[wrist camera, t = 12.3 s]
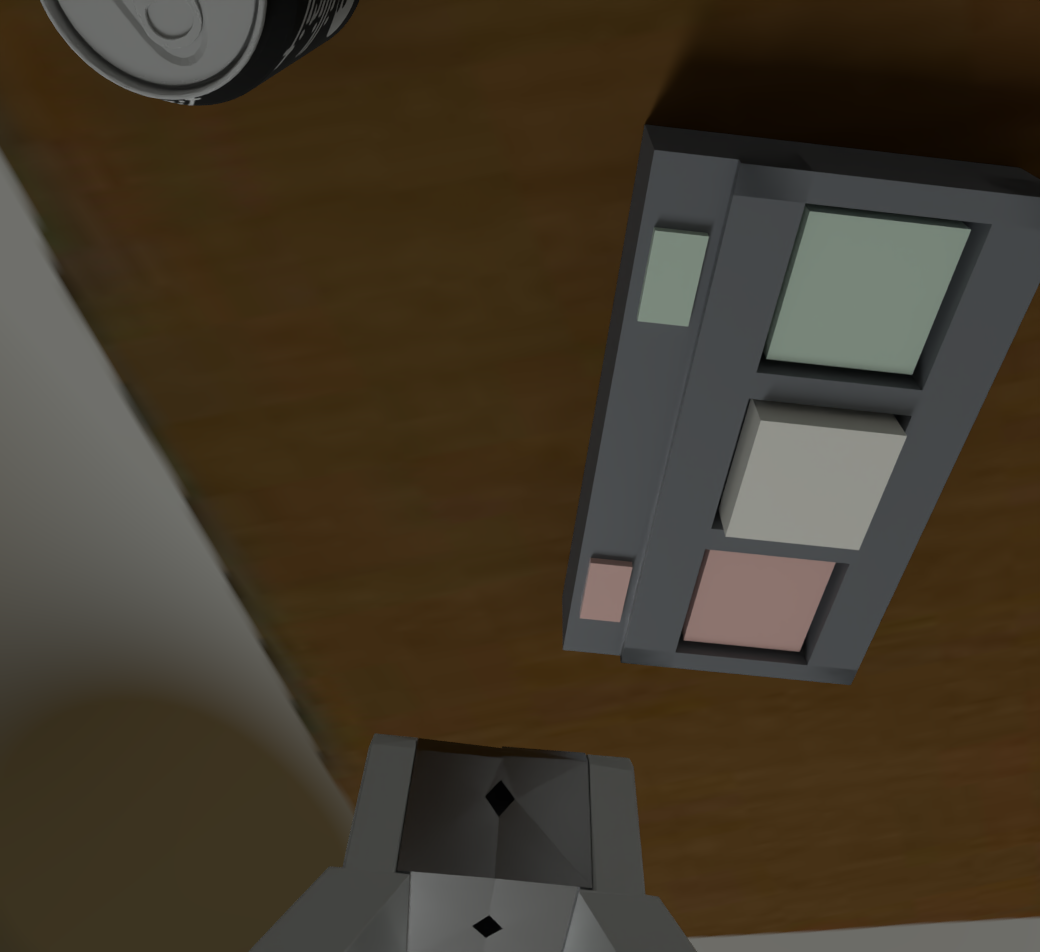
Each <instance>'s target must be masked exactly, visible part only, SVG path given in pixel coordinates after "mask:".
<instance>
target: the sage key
mask: <svg viewBox="0 0 1040 952" xmlns="http://www.w3.org/2000/svg"><path fill="white" fill-rule="evenodd" d="M970 232H971V229H970V228H969V227H968V226H966V225H965V224H964V223H963V222H961V221H958V220H949V219H940V218H931V217H923V216H914V215H905V214H896V213H887V212H879V211H870V210H861V209H852V208H843V207H834V206H826V205H817V204H808V203H805V207H804V210H803V214H802V217H801V221H800V224H799V227H798V231H797V234H796V238H795V241H794V245H793V248H792V252H791V255H790V258H789V262H788V265H787V269H786V272H785V276H784V279H783V283H782V286H781V290H780V293H779V296H778V300H777V303H776V307H775V310H774V314H773V317H772V321H771V324H770V327H769V331H768V334H767V338H766V341H765V345H764V348H763V353H764V355H765V357H766V359H771V360H780V361H789V362H798V363H808V364H817V365H826V366H835V367H845V368H854V369H863V370H872V371H882V372H891V373H900V374H909V375H912V374H913V372H914V369H915V367H916V364H917V362H918V359H919V357H920V354H921V352H922V349H923V347H924V345H925V342H926V340H927V337H928V335H929V332H930V330H931V327H932V325H933V322H934V320H935V318H936V315H937V313H938V310H939V308H940V305H941V303H942V300H943V298H944V295H945V293H946V290H947V288H948V286H949V283H950V281H951V278H952V276H953V273H954V271H955V268H956V266H957V263H958V261H959V259H960V256H961V254H962V251H963V249H964V246H965V244H966V241H967V239H968V236H969V234H970Z"/></svg>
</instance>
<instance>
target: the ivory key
mask: <svg viewBox="0 0 1040 952" xmlns="http://www.w3.org/2000/svg"><path fill="white" fill-rule="evenodd" d="M906 438H907V435H906V433H905V432H904V430H903V429H902V427H901V426H900V424H899V423H898V421H897V419H896V418H895V416H894V415H893V414H888V413H879V412H870V411H860V410H851V409H842V408H832V407H823V406H813V405H804V404H795V403H785V402H776V401H767V400H757V399H750V403H749V406H748V410H747V413H746V417H745V420H744V423H743V427H742V430H741V434H740V437H739V441H738V444H737V447H736V451H735V454H734V458H733V461H732V465H731V468H730V472H729V475H728V478H727V482H726V485H725V489H724V492H723V496H722V499H721V502H720V506H719V509H718V510H719V514H720V518H721V521H722V525H723V529H724V533H725V537H735V538H744V539H754V540H764V541H774V542H784V543H793V544H803V545H813V546H823V547H833V548H842V549H852V550H859V549H860V546H861V544H862V542H863V539H864V537H865V535H866V532H867V530H868V527H869V525H870V523H871V520H872V518H873V516H874V513H875V511H876V509H877V506H878V504H879V501H880V499H881V497H882V494H883V492H884V490H885V487H886V485H887V483H888V480H889V478H890V475H891V473H892V471H893V468H894V466H895V464H896V461H897V459H898V456H899V454H900V452H901V449H902V447H903V445H904V442H905V440H906Z"/></svg>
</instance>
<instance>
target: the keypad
mask: <svg viewBox="0 0 1040 952" xmlns="http://www.w3.org/2000/svg"><path fill="white" fill-rule="evenodd" d="M805 203H808V204H817V205H826V206H834V207H843V208H852V209H861V210H870V211H879V212H887V213H896V214H905V215H914V216H923V217H931V218H940V219H949V220H958V221H961V222H963V223H964V224H965V225H966V226H968V227H969V228H970V229H971V232H970V234H969V236H968V239H967V241H966V244H965V246H964V249H963V251H962V254H961V256H960V259H959V261H958V263H957V266H956V268H955V271H954V273H953V276H952V278H951V281H950V283H949V286H948V288H947V290H946V293H945V295H944V298H943V300H942V303H941V305H940V308H939V310H938V313H937V315H936V318H935V320H934V322H933V325H932V327H931V330H930V332H929V335H928V337H927V340H926V342H925V345H924V347H923V349H922V352H921V354H920V357H919V359H918V362H917V364H916V367H915V369H914V372H913V374H912V375H909V374H900V373H891V372H882V371H872V370H863V369H854V368H845V367H835V366H826V365H817V364H808V363H798V362H789V361H780V360H771V359H766V357H765V355H764V353H763V348H764V345H765V341H766V338H767V334H768V331H769V327H770V324H771V321H772V317H773V314H774V310H775V307H776V303H777V300H778V296H779V293H780V290H781V286H782V283H783V279H784V276H785V272H786V269H787V265H788V262H789V258H790V255H791V252H792V248H793V245H794V241H795V238H796V234H797V231H798V227H799V224H800V221H801V217H802V214H803V210H804V207H805ZM1039 283H1040V179H1038V178H1037V177H1035V176H1033V175H1032V174H1030V173H1028V172H1027V171H1025V170H1023V169H1021V168H1018V167H1009V166H1001V165H992V164H983V163H975V162H966V161H957V160H949V159H940V158H931V157H923V156H914V155H905V154H897V153H888V152H879V151H871V150H862V149H853V148H845V147H836V146H827V145H819V144H810V143H801V142H793V141H784V140H775V139H767V138H758V137H749V136H741V135H732V134H723V133H715V132H706V131H697V130H689V129H680V128H671V127H663V126H654V125H646V124H645V126H644V131H643V137H642V143H641V149H640V154H639V160H638V166H637V172H636V177H635V183H634V189H633V195H632V200H631V206H630V212H629V218H628V223H627V229H626V235H625V241H624V246H623V252H622V258H621V264H620V269H619V275H618V281H617V287H616V292H615V298H614V304H613V310H612V315H611V321H610V327H609V332H608V338H607V344H606V350H605V355H604V361H603V367H602V373H601V378H600V384H599V390H598V396H597V401H596V407H595V413H594V419H593V424H592V430H591V436H590V442H589V447H588V453H587V459H586V465H585V470H584V476H583V482H582V488H581V493H580V499H579V505H578V511H577V516H576V522H575V528H574V533H573V539H572V545H571V551H570V556H569V562H568V568H567V574H566V579H565V585H564V591H563V597H562V605H563V650H571V651H581V652H591V653H602V654H612V655H620V658H621V663H631V664H641V665H652V666H662V667H672V668H682V669H693V670H703V671H713V672H723V673H734V674H744V675H754V676H764V677H775V678H785V679H795V680H805V681H816V682H826V683H836V684H846V685H851V683H852V681H853V679H854V677H855V674H856V672H857V670H858V668H859V666H860V664H861V662H862V660H863V657H864V655H865V653H866V651H867V649H868V647H869V645H870V642H871V640H872V638H873V636H874V634H875V632H876V630H877V628H878V625H879V623H880V621H881V619H882V617H883V615H884V613H885V611H886V608H887V606H888V604H889V602H890V600H891V598H892V596H893V594H894V591H895V589H896V587H897V585H898V583H899V581H900V579H901V577H902V574H903V572H904V570H905V568H906V566H907V564H908V562H909V559H910V557H911V555H912V553H913V551H914V549H915V547H916V545H917V542H918V540H919V538H920V536H921V534H922V532H923V530H924V528H925V525H926V523H927V521H928V519H929V517H930V515H931V513H932V511H933V508H934V506H935V504H936V502H937V500H938V498H939V496H940V494H941V491H942V489H943V487H944V485H945V483H946V481H947V479H948V476H949V474H950V472H951V470H952V468H953V466H954V464H955V462H956V459H957V457H958V455H959V453H960V451H961V449H962V447H963V445H964V442H965V440H966V438H967V436H968V434H969V432H970V430H971V428H972V425H973V423H974V421H975V419H976V417H977V415H978V413H979V410H980V408H981V406H982V404H983V402H984V400H985V398H986V396H987V393H988V391H989V389H990V387H991V385H992V383H993V381H994V379H995V376H996V374H997V372H998V370H999V368H1000V366H1001V364H1002V362H1003V359H1004V357H1005V355H1006V353H1007V351H1008V349H1009V347H1010V345H1011V342H1012V340H1013V338H1014V336H1015V334H1016V332H1017V330H1018V327H1019V325H1020V323H1021V321H1022V319H1023V317H1024V315H1025V313H1026V310H1027V308H1028V306H1029V304H1030V302H1031V300H1032V298H1033V296H1034V293H1035V291H1036V289H1037V287H1038V285H1039ZM750 399H757V400H767V401H776V402H785V403H795V404H804V405H813V406H823V407H832V408H842V409H851V410H860V411H870V412H879V413H888V414H893V415H894V416H895V418H896V419H897V421H898V423H899V424H900V426H901V427H902V429H903V430H904V432H905V433H906V435H907V438H906V440H905V442H904V445H903V447H902V449H901V452H900V454H899V456H898V459H897V461H896V464H895V466H894V468H893V471H892V473H891V475H890V478H889V480H888V483H887V485H886V487H885V490H884V492H883V494H882V497H881V499H880V501H879V504H878V506H877V509H876V511H875V513H874V516H873V518H872V520H871V523H870V525H869V527H868V530H867V532H866V535H865V537H864V539H863V542H862V544H861V546H860V549H859V550H852V549H842V548H833V547H823V546H813V545H803V544H793V543H784V542H774V541H764V540H754V539H744V538H735V537H725V533H724V529H723V525H722V521H721V518H720V514H719V510H718V509H719V506H720V502H721V499H722V496H723V492H724V489H725V485H726V482H727V478H728V475H729V472H730V468H731V465H732V461H733V458H734V454H735V451H736V447H737V444H738V441H739V437H740V434H741V430H742V427H743V423H744V420H745V417H746V413H747V410H748V406H749V403H750ZM705 549H708V550H718V551H728V552H738V553H748V554H758V555H768V556H777V557H787V558H797V559H807V560H817V561H827V562H836V563H835V566H834V568H833V571H832V573H831V576H830V578H829V580H828V583H827V585H826V588H825V590H824V593H823V595H822V598H821V600H820V603H819V605H818V607H817V610H816V612H815V615H814V617H813V620H812V622H811V625H810V627H809V630H808V632H807V635H806V637H805V639H804V642H803V644H802V647H801V649H800V652H797V651H786V650H776V649H766V648H756V647H746V646H736V645H725V644H715V643H705V642H695V641H685V640H683V634H682V628H683V624H684V621H685V617H686V614H687V610H688V607H689V603H690V600H691V597H692V593H693V590H694V586H695V583H696V579H697V576H698V572H699V569H700V565H701V562H702V559H703V555H704V552H705Z"/></svg>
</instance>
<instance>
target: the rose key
mask: <svg viewBox="0 0 1040 952" xmlns="http://www.w3.org/2000/svg"><path fill="white" fill-rule="evenodd" d="M835 563H836V562H827V561H817V560H807V559H797V558H787V557H777V556H768V555H758V554H748V553H738V552H728V551H718V550H708V549H705V552H704V555H703V559H702V562H701V565H700V569H699V572H698V576H697V579H696V583H695V586H694V590H693V593H692V597H691V600H690V603H689V607H688V610H687V614H686V617H685V621H684V624H683V628H682V634H683V640H685V641H695V642H705V643H715V644H725V645H736V646H746V647H756V648H766V649H776V650H786V651H797V652H800V649H801V647H802V644H803V642H804V639H805V637H806V635H807V632H808V630H809V627H810V625H811V622H812V620H813V617H814V615H815V612H816V610H817V607H818V605H819V603H820V600H821V598H822V595H823V593H824V590H825V588H826V585H827V583H828V580H829V578H830V576H831V573H832V571H833V568H834V566H835Z"/></svg>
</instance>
